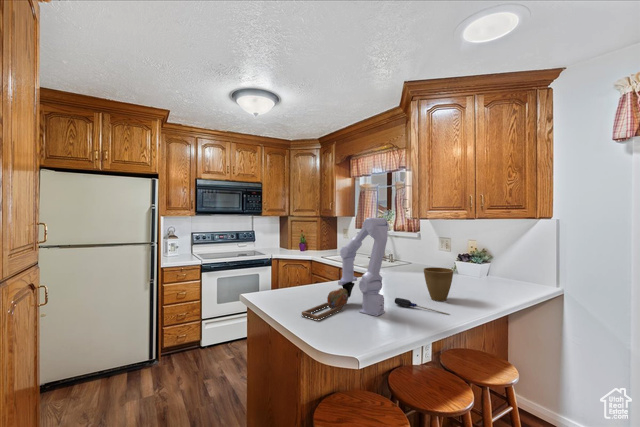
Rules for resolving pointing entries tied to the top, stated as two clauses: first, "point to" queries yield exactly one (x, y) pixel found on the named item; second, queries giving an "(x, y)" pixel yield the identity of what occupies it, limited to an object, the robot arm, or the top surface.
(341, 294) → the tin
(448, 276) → the plant pot
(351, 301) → the top surface
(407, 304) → the screwdriver
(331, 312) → the brown beaded frame
